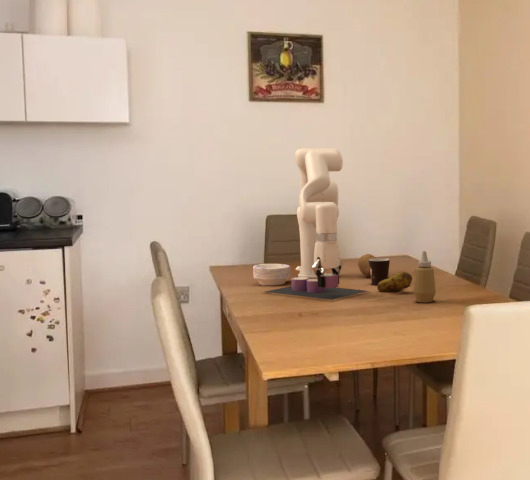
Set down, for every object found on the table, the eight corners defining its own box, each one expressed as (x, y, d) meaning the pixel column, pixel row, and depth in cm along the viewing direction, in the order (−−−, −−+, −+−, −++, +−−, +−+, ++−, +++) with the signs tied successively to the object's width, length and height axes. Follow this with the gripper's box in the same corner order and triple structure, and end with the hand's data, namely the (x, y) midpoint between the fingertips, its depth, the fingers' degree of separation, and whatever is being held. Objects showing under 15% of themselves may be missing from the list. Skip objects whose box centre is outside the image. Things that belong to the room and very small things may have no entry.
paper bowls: (298, 284, 320) (297, 264, 318) (269, 288, 309) (268, 269, 308) (275, 280, 330) (274, 262, 328) (246, 285, 319) (245, 265, 318)
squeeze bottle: (421, 298, 283) (420, 249, 279) (440, 300, 278) (440, 250, 274) (409, 302, 276) (408, 251, 272) (428, 304, 272) (427, 253, 268)
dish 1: (287, 290, 302) (287, 278, 301) (300, 287, 308) (299, 276, 307) (301, 291, 298) (301, 280, 297) (314, 289, 304) (313, 277, 303)
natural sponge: (369, 274, 343) (369, 252, 341) (383, 276, 337) (383, 253, 335) (354, 277, 337) (353, 254, 335) (368, 279, 331) (367, 255, 328)
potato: (382, 290, 303) (382, 269, 301) (414, 291, 299) (414, 270, 297) (375, 293, 295) (375, 272, 293) (408, 295, 291) (407, 273, 289)
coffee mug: (387, 285, 312) (387, 261, 310) (367, 285, 314) (366, 260, 312) (393, 281, 323) (393, 257, 321) (373, 281, 325) (373, 257, 323)
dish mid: (302, 291, 298) (302, 280, 297) (315, 289, 303) (314, 277, 302) (317, 293, 294) (316, 281, 293) (329, 290, 299) (328, 279, 298)
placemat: (264, 293, 300) (264, 291, 299) (302, 285, 317) (302, 283, 317) (331, 301, 280) (331, 299, 280) (368, 292, 298) (368, 290, 298)
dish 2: (314, 287, 286) (314, 275, 285) (327, 284, 292) (327, 272, 291) (329, 288, 282) (329, 276, 281) (342, 286, 288) (341, 274, 287)
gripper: (334, 235, 292) (335, 281, 296) (303, 239, 278) (305, 288, 282) (349, 236, 288) (351, 283, 292) (319, 240, 274) (320, 289, 278)
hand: (328, 285), depth 287 cm, fingers closed on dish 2, 7 cm apart
